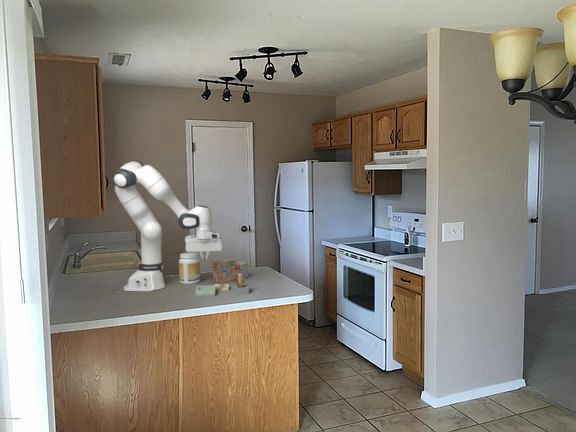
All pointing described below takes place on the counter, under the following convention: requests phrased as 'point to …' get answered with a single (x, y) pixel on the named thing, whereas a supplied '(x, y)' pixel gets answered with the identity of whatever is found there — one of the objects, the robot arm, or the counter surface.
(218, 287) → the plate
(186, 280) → the supplement tub
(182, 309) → the counter surface
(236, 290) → the collar
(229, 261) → the stack of blocks
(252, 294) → the counter surface
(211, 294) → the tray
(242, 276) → the dowel
